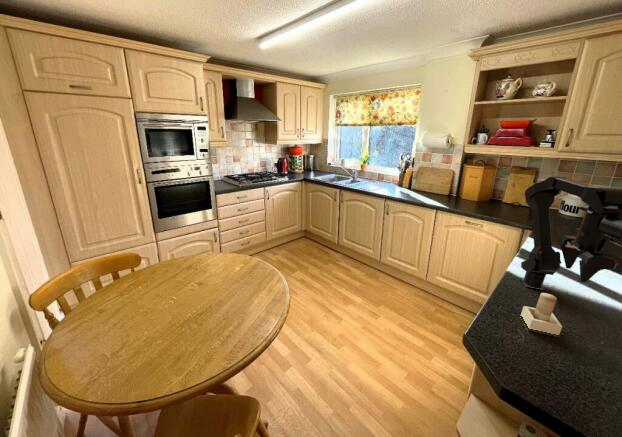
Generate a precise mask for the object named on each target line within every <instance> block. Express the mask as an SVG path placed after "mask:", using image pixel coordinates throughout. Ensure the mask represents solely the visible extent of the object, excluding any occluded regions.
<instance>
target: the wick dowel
mask: <svg viewBox="0 0 622 437" xmlns="http://www.w3.org/2000/svg"><path fill="white" fill-rule="evenodd" d="M557 300H558V298H557V297H556V296H555V295H553V294H550V293H546V292H541V293H540V295H539V297H538V300H537V304H536V307H535V308H536V309H535V312H534V315H533V317H534V319H537V320H542V321H546V322H549V319H550V317H551V314H552V313H553V311H554V309H555V306H556V303H557Z"/></svg>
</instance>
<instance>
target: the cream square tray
mask: <svg viewBox="0 0 622 437" xmlns="http://www.w3.org/2000/svg"><path fill="white" fill-rule="evenodd" d="M535 309H536V307H531V306H526V305H523V307H522V310H521V314H520V316H522V317H523V319H524V321H525V323H526V324H527V326H528V328H529V329H533V330H538V331H543V332H547V333H551V334H556V335H559V336H560V333H561V331H562V328H563V325H562V324H561V323H560V321H559V320H558V318H557V317H556V316H555V314H554V313H553V312H552V314H551V317H550V319H549V322H546V321H542V320H537V319H534V317H533V315H534V312H535Z"/></svg>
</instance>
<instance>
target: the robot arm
mask: <svg viewBox="0 0 622 437" xmlns="http://www.w3.org/2000/svg"><path fill="white" fill-rule="evenodd" d="M561 192H564V193H566V194H569V195H573V196H575V197H578V198H580V200H581V202H582V203H583V204H586V205H584V206H582V207H581V206H580V207H579V210H580V211H582V212H584V216H583V218H582V221H581V223H580V226H579V228H577V227H576V228H575V230H574V231H575V232H576V233H577V235H576V236H575V235H574V236H573V235H566V234H563V235H561V236H560V237H559V239H558V241H557V242H558V243H559V246H560V250H561V252H560V251H555V249H554V248H553V245H552V244H553V243H552V232H551V217H550V209H551V206H552V205H553V204H554V202H555V197H557V196H558V195H560V194H561ZM524 198H525V202H526V204H527V206H528V207H529V208H530V209H531V216H532V218H531V219H532V232H533V235H532V236H533V248H532V249H531V251H530V252H529V253H528V259H526V260H523V261H521V262H520V267H521V269H522V270H524V271H525V274H524V276H523V279H524V280H523V282H525V283H526V284H528V285H530V286H531V287H535V288H541V287H542V286H543V285H544V281H545V279H546V275H551V276H554V275H555V273H556V272H558V270H559V269H560V268H561V264H562V261H561V253H562V256H563V260H564V261H563V262H564V264H565V268H566V269H569V270H571V269H572V267H573V266H574V264H575V263H576V261H577V259H578V257H579V256H580V255H581V258H580V259H581V260H580V259H579V262H578V263H579V275H580V276H579V278H580V282H581V283H587V282H588V281H589V280H590V279H591V278H593V276H595V275H596V274H597V273H598V272H600V271H602V270H604V271H605V270H616V267H617V266H618V262H617V260H616V259H615V258H613V257H612V256H610V255H609V254H611V255H613V256H615V257H616V258H618V259H622V245H621V244H619V243H617V242H616V241H617V240H621V241H622V188H621V187H608V186H595V185H591V184H588V183H585V182H581V181H578V180H574V179H571V178H568V177H567V176H558V175H557V176H556V175H555V176H554V175H553V176H549V177H547V178H546V179H544V180H541V181H538V182H536V183H534V184H532V185H530V186H528V187H527V188H526V189H525V192H524ZM608 253H609V254H608Z"/></svg>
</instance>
